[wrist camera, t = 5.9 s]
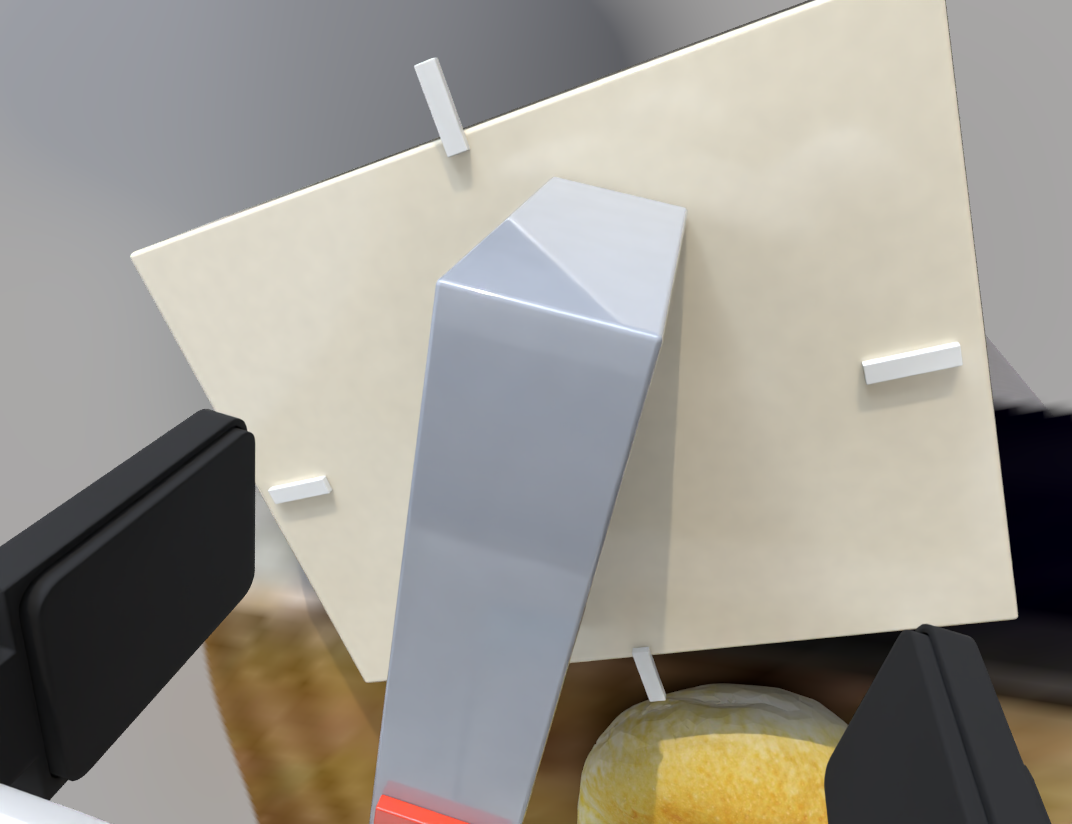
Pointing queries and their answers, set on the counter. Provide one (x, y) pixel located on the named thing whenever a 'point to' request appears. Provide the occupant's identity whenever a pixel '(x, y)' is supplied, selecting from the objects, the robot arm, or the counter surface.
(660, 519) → the cream flat tabbed slab
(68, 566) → the robot arm
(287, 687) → the counter surface
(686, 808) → the bread roll
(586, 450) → the grey rectangular block
